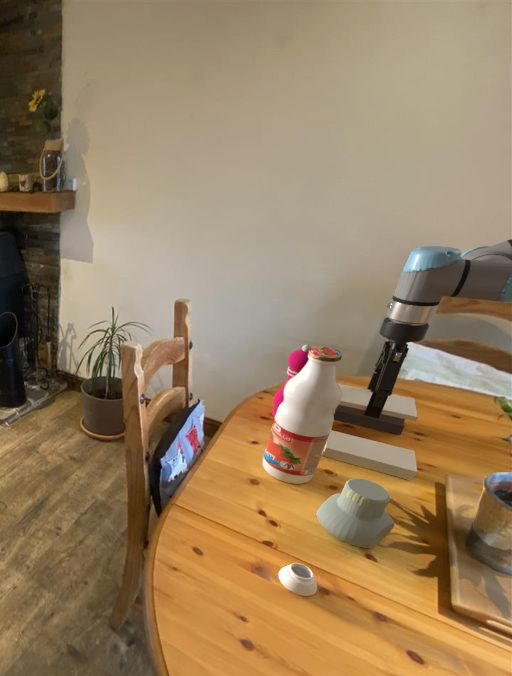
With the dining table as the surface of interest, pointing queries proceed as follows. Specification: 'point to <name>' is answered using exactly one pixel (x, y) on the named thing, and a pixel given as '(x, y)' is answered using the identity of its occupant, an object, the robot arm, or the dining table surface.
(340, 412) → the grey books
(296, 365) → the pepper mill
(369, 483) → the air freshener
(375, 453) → the light grey flat block
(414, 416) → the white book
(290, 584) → the small white bowl
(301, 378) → the fruit juice
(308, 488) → the dining table surface
